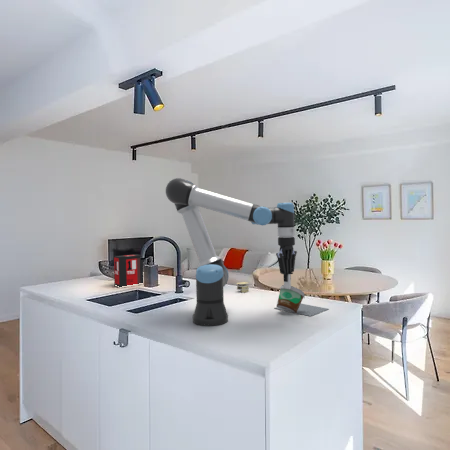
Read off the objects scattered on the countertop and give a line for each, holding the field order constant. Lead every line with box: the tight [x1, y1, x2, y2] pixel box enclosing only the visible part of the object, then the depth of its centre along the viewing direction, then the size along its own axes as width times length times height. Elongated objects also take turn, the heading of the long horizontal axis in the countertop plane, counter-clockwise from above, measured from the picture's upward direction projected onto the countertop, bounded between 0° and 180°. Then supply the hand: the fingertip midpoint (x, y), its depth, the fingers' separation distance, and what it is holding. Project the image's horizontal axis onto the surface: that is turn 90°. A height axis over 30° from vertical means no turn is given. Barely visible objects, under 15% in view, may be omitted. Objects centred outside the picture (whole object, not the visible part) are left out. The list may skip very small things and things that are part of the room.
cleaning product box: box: [113, 253, 144, 287], centre depth 236 cm, size 16×9×20 cm, turn 130°
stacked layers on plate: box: [236, 281, 250, 294], centre depth 210 cm, size 10×9×6 cm
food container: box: [276, 284, 305, 314], centre depth 161 cm, size 12×6×10 cm
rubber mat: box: [273, 303, 330, 317], centre depth 168 cm, size 16×20×1 cm
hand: (287, 288), depth 160 cm, fingers closed
